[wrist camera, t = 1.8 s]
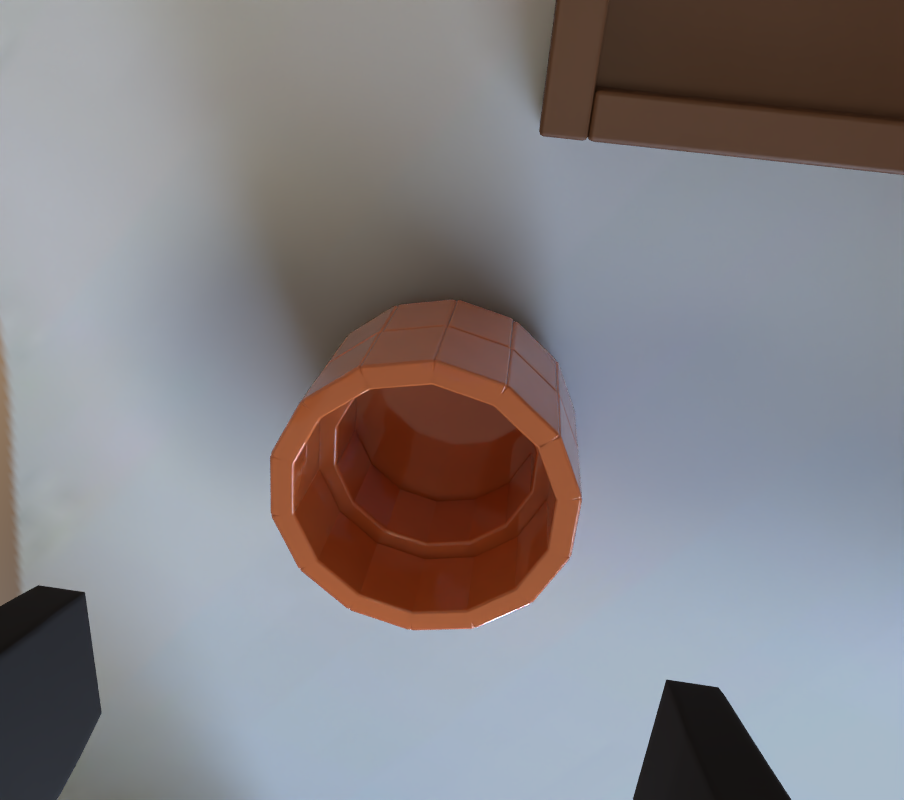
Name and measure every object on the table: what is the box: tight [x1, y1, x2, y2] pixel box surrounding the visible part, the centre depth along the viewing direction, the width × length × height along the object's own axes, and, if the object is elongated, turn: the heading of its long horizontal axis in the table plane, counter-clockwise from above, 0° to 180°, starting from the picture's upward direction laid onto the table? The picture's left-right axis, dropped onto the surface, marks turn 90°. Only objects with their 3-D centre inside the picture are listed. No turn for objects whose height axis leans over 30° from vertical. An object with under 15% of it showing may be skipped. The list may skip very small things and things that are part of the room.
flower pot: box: [270, 299, 582, 630], centre depth 15 cm, size 6×6×4 cm
